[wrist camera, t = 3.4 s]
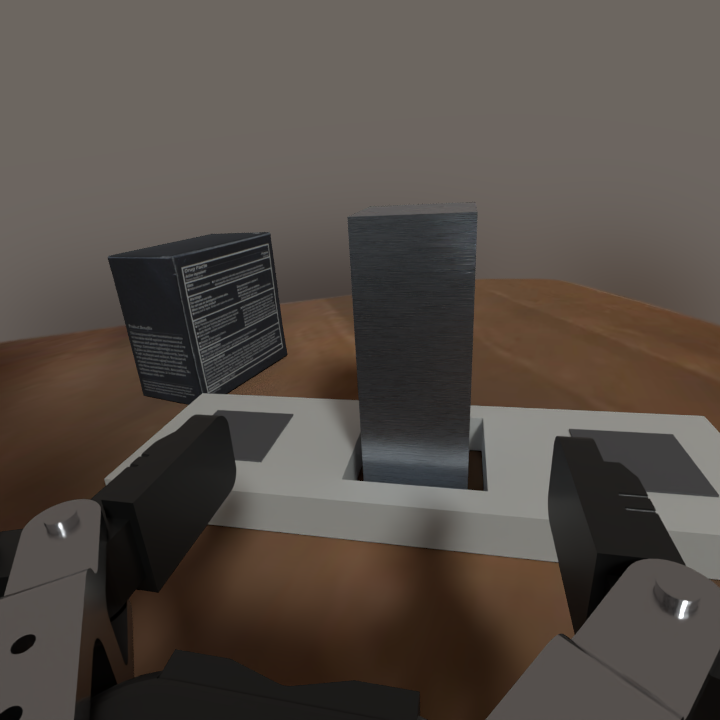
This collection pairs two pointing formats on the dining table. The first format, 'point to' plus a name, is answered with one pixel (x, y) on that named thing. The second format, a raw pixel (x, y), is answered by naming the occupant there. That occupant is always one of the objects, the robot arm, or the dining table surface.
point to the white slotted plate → (446, 505)
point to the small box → (200, 313)
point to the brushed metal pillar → (414, 340)
